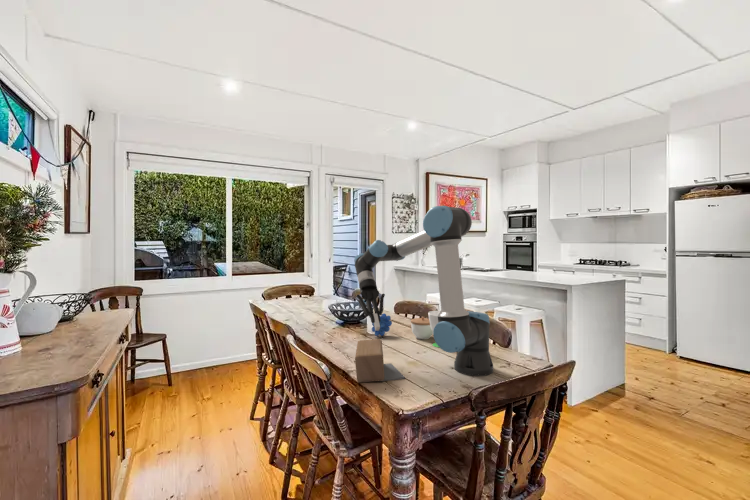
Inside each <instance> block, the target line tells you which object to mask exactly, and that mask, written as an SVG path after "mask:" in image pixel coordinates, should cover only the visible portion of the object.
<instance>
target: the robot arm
mask: <svg viewBox="0 0 750 500" xmlns="http://www.w3.org/2000/svg"><path fill="white" fill-rule="evenodd" d="M422 220H423V221H422V228H423V230H422V231H419V232H416V233H415V234H412V235H410V236H408V237H406V238H403V239H401V240H399V241H397V242H395V243H392V244H387V243H386V242H385V241H383V240H381V239H376V240H374V241H373V243H371V244H370V246H368V248H367V249H366V251H364V253H363V252H362V253H359V254H357V255H355V257H354V268H355V271H356V272H355V273H356V276H357V280H358V282H357V283H358V286H359V292H360V293H359V294H356V297H355V300H356V301H357V302H358V304H359V306H360V307H361V310H362V311H363V313H364V315H365V316H366V317H369V318H370V322H371V324H372V323H374V327H375V331H379V329H380V324H379V322H380V321H381V319H380V316H381V315H382V314H383V312H384V299H385V296H386V294H385V293H380V291H379V290H378V286H377V282H376V278H375V274H374V271H373V269H374V268H375V267H376V266H377V265H378V264H379V262H390V261H391V262H392V261H393V262H394V261H396V262H397V261H398V262H399V261H402V260H404V259H405V258H406V257H407V256H409V255H412V254H416V253H417V252H420V251H422V250H424V249H426V248H429V247H432V246H433V247H434V249H435V250H434V251H435V259H436V260H435V261H436V262H435V263H436V269H437V271H436V272H437V283H438V291H439V303H440V311H441V312H440V313H439V314H438V323H437V324H436V326H435V327H434V330H433V334H432V336H433V339H434V343H436V344H437V345H438V346H439V347H440V349H441V350H442V351H444V352H446V353H452V354H453V353H456V356H455V360H454V363H453V364H454V366H453V368H454V370H455V371H456V372H458V373H461V374H463V375H467V376H477V377H482V376H488V375H492V374H493V373H494V362H493V361H492V357H491V353H490V325H491V322H490V316H489V315H488V314H487V313H485V312H480V311H474V310H473V311H472V310H466V309H465V302H464V291H463V284H462V283H463V281H462V280H463V279H462V272H461V261H460V251H459V244H460V243H461V241H463V239H462V238H463V236H465V235H467V234H468V232H469V231H470V230H471V228H472V223H473V222H472V217H471V215H470V213H469V212H468V211H467V210H465V209H464V208H462V207H455V206H454V207H453V206H448V205H437V206H433V207H431V208H430V209H428V211H427V212H426V214H425V215H424V216H423V219H422ZM377 298H378V299H379V303H378V302H377ZM378 304H379V305H378Z"/></svg>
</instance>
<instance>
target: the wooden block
mask: <svg viewBox="0 0 750 500" xmlns="http://www.w3.org/2000/svg"><path fill="white" fill-rule="evenodd" d="M354 359H355V360H354V362H355V374H356V381H357V382H358V383H368V382H371V383H372V382H383V381H382V380H384V364H385V363H384V350H383V341H382V339H381V338H373V339H362V340H358V341H357V344H356V351H355V357H354Z"/></svg>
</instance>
